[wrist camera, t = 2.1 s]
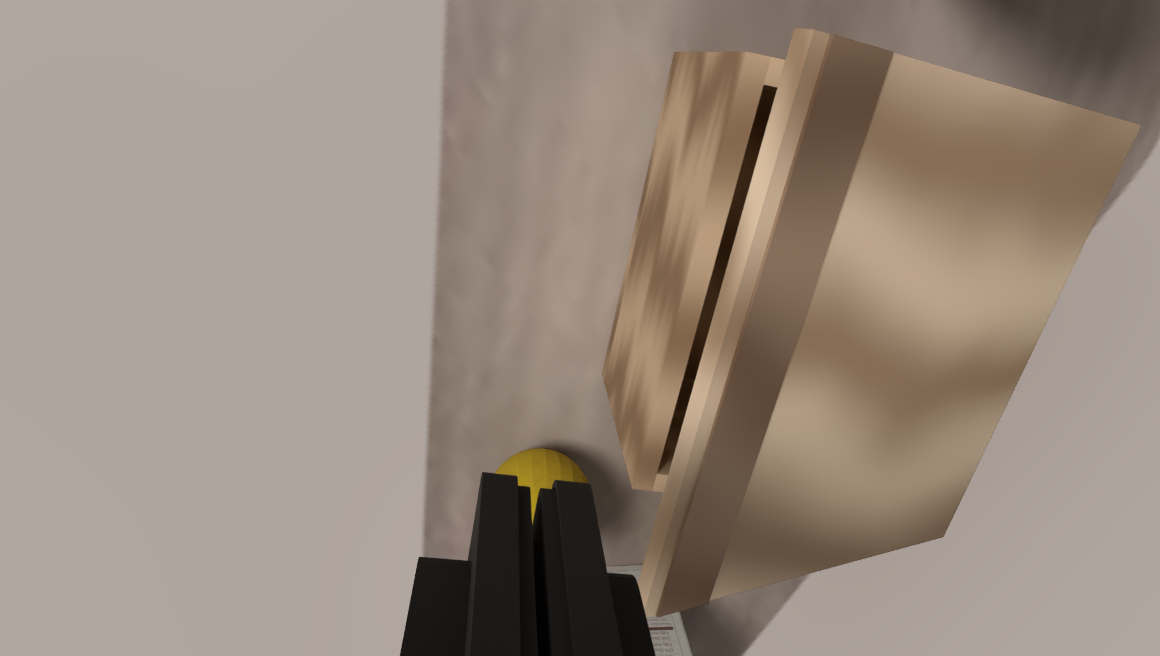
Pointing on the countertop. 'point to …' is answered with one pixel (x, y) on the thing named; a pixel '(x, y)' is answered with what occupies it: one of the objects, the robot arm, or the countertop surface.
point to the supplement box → (661, 624)
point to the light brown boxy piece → (683, 247)
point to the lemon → (541, 470)
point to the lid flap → (871, 314)
